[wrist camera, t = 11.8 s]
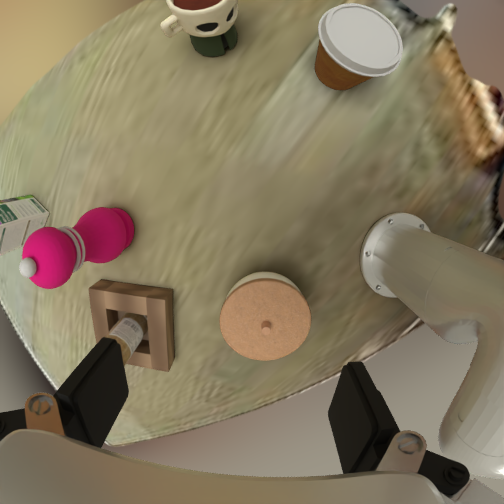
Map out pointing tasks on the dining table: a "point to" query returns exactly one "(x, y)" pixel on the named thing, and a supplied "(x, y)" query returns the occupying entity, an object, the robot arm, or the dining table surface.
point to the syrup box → (19, 221)
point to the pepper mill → (75, 246)
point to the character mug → (204, 23)
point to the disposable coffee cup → (355, 46)
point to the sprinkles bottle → (129, 333)
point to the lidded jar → (265, 316)
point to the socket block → (139, 302)
